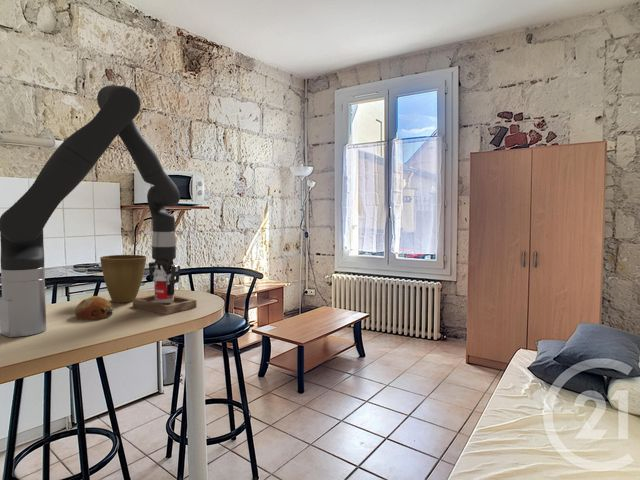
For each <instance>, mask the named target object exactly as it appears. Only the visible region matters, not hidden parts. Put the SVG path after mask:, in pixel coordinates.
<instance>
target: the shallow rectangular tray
mask: <svg viewBox="0 0 640 480" xmlns="http://www.w3.org/2000/svg"><path fill="white" fill-rule="evenodd" d="M132 306H133V307H134V308H139V309H143V310H146V311H150V312H154V313H158V314H162V315H166V316H167V315H171V314H173V313H179V312H183V311H187V310H191V308H192V309H196V308H197V300H196V299H193V298H188V297H182V296H179V295H178V296H177V295H174V301H173V302H170V303H157V302H155V294H153V295H147V296H142V297H136V298H135V299H133V301H132ZM195 307H196V308H195Z"/></svg>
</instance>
